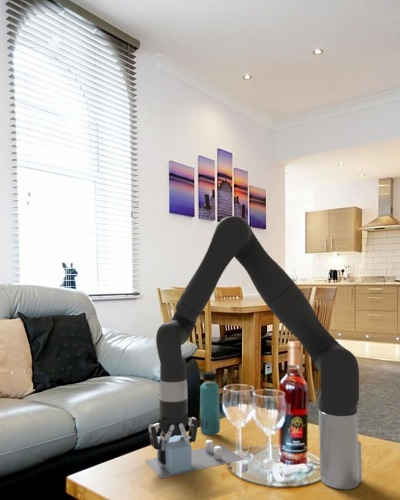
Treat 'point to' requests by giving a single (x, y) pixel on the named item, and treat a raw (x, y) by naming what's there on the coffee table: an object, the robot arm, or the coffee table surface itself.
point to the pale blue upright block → (177, 455)
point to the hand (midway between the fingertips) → (173, 461)
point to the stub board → (199, 459)
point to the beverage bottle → (209, 405)
